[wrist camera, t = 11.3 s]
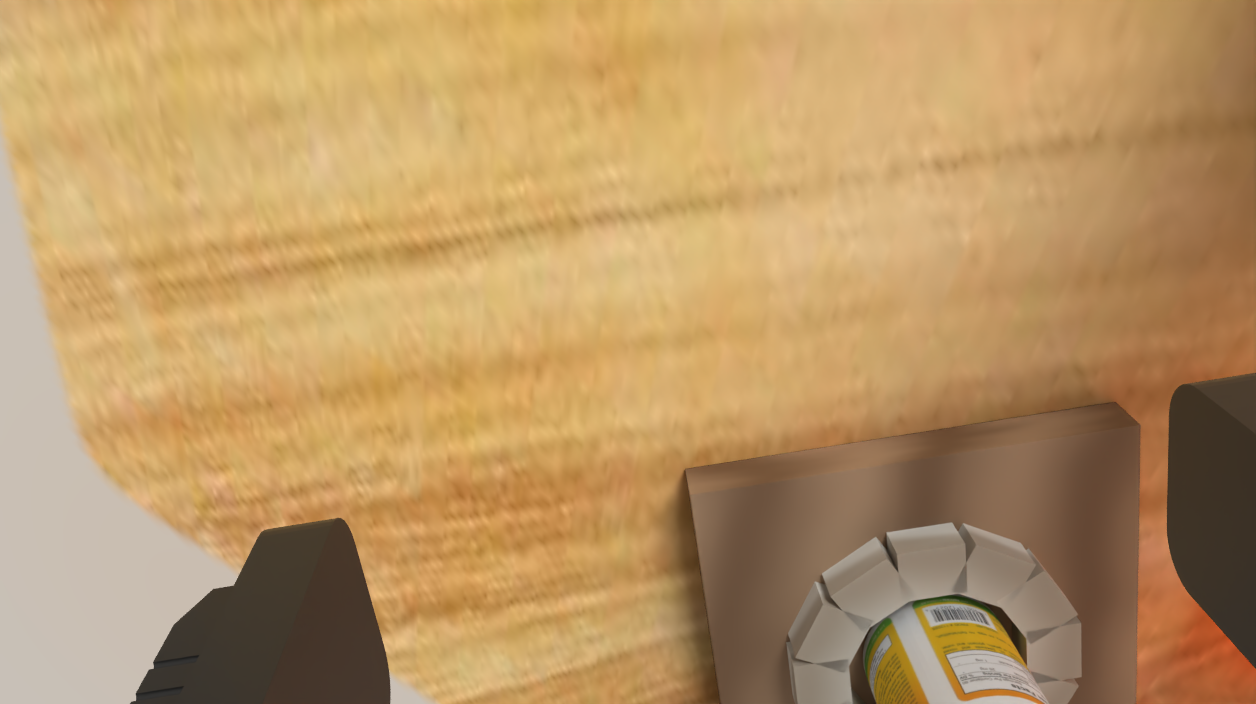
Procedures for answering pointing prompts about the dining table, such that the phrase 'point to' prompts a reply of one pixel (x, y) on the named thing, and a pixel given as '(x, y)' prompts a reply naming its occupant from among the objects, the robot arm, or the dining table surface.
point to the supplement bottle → (946, 656)
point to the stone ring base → (926, 552)
